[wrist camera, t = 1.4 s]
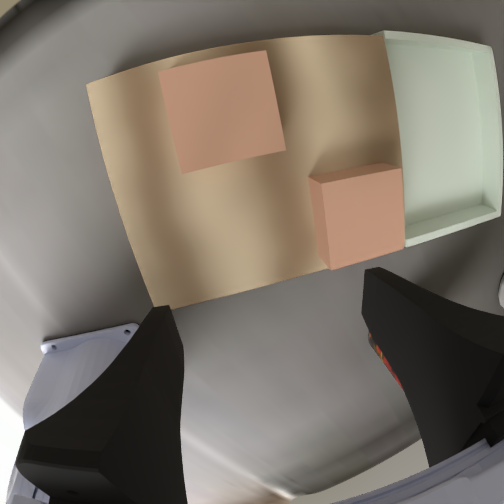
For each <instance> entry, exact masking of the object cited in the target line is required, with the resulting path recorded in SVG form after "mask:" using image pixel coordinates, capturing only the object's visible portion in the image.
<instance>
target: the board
mask: <svg viewBox="0 0 504 504" xmlns="http://www.w3.org/2000/svg"><path fill="white" fill-rule="evenodd" d="M264 50H266V52H267V57H268V61H269V66H270V71H271V75H272V80H273V85H274V90H275V95H276V100H277V105H278V110H279V115H280V120H281V125H282V130H283V136H284V141H285V147H286V150H285V151H280V152H275V153H270V154H266V155H261V156H256V157H252V158H247V159H243V160H238V161H234V162H229V163H225V164H221V165H217V166H213V167H209V168H205V169H201V170H197V171H193V172H189V173H185V174H182V172H181V168H180V164H179V160H178V156H177V152H176V148H175V144H174V140H173V136H172V132H171V128H170V123H169V119H168V115H167V111H166V106H165V102H164V97H163V93H162V88H161V84H160V79H159V75H158V72H160V71H163V70H167V69H171V68H175V67H179V66H183V65H187V64H191V63H196V62H200V61H205V60H210V59H215V58H220V57H226V56H231V55H237V54H243V53H250V52H257V51H264ZM86 87H87V92H88V96H89V101H90V106H91V110H92V114H93V119H94V123H95V127H96V131H97V135H98V139H99V143H100V147H101V151H102V155H103V158H104V162H105V166H106V169H107V173H108V176H109V180H110V183H111V186H112V190H113V193H114V196H115V200H116V203H117V206H118V209H119V212H120V215H121V218H122V221H123V224H124V227H125V230H126V233H127V236H128V239H129V242H130V245H131V248H132V250H133V253H134V256H135V259H136V261H137V264H138V267H139V269H140V272H141V275H142V277H143V280H144V283H145V285H146V288H147V290H148V293H149V295H150V298H151V300H152V303H153V305H154V307H157V306H164V305H169V306H170V309H171V310H172V309H176V308H180V307H184V306H188V305H192V304H197V303H201V302H204V301H208V300H212V299H216V298H220V297H224V296H228V295H232V294H236V293H240V292H243V291H247V290H251V289H255V288H259V287H262V286H266V285H270V284H273V283H277V282H281V281H284V280H288V279H292V278H295V277H299V276H303V275H306V274H310V273H313V272H317V271H320V270H324V269H327V268H328V267H327V265H326V264H325V263H324V262H323V261H322V260H321V259H320V257H319V256H318V247H317V239H316V231H315V224H314V216H313V209H312V202H311V195H310V188H309V181H308V177H310V176H315V175H319V174H324V173H329V172H334V171H340V170H345V169H350V168H355V167H361V166H366V165H372V164H378V163H386V164H389V165H393V166H396V167H399V168H401V169H402V186H403V211H404V245H405V204H404V181H403V166H402V153H401V143H400V133H399V124H398V116H397V109H396V102H395V95H394V89H393V83H392V77H391V71H390V66H389V61H388V56H387V51H386V46H385V42H384V37H383V36H379V35H317V36H300V37H287V38H276V39H267V40H259V41H251V42H244V43H238V44H232V45H226V46H220V47H215V48H210V49H205V50H200V51H195V52H191V53H186V54H182V55H178V56H174V57H170V58H166V59H162V60H158V61H155V62H151V63H148V64H144V65H141V66H138V67H134V68H131V69H128V70H125V71H122V72H119V73H116V74H113V75H110V76H107V77H105V78H102V79H99V80H97V81H94V82H91V83H89V84H86Z"/></svg>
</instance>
